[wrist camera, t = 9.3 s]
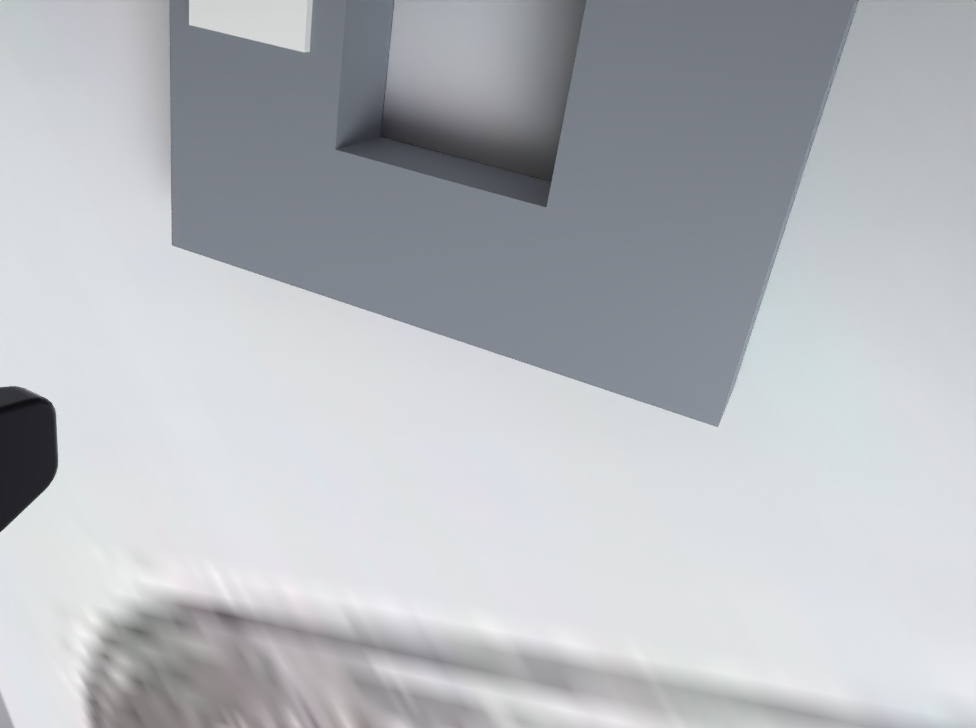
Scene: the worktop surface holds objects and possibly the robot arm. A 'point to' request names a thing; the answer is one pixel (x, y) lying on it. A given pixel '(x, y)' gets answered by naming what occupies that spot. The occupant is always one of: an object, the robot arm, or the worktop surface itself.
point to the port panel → (515, 182)
